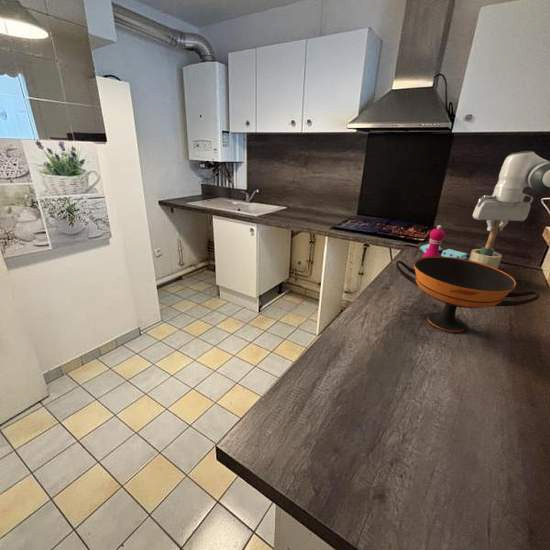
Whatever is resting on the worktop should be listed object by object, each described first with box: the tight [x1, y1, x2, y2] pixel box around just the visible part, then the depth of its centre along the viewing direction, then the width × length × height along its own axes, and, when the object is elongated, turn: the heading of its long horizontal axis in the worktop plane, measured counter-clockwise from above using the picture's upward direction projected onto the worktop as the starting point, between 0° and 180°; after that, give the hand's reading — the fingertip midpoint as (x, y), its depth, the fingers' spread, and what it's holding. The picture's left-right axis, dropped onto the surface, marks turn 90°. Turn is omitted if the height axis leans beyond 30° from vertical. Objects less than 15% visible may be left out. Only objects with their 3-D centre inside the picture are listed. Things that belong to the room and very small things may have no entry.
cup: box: [395, 255, 541, 333], centre depth 87 cm, size 36×26×18 cm
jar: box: [468, 248, 503, 269], centre depth 125 cm, size 11×11×11 cm
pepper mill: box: [422, 224, 446, 257], centre depth 131 cm, size 7×7×20 cm
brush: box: [480, 220, 501, 256], centre depth 120 cm, size 5×5×16 cm
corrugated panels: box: [419, 243, 468, 260], centre depth 147 cm, size 34×3×10 cm
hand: (494, 230), depth 119 cm, fingers closed on brush, 2 cm apart
